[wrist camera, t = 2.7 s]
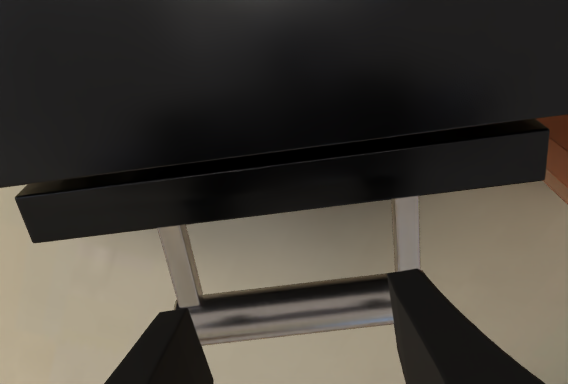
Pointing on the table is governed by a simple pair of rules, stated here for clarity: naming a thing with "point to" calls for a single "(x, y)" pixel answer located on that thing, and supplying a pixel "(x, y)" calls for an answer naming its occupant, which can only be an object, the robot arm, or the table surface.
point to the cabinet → (261, 77)
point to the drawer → (286, 198)
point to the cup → (557, 155)
